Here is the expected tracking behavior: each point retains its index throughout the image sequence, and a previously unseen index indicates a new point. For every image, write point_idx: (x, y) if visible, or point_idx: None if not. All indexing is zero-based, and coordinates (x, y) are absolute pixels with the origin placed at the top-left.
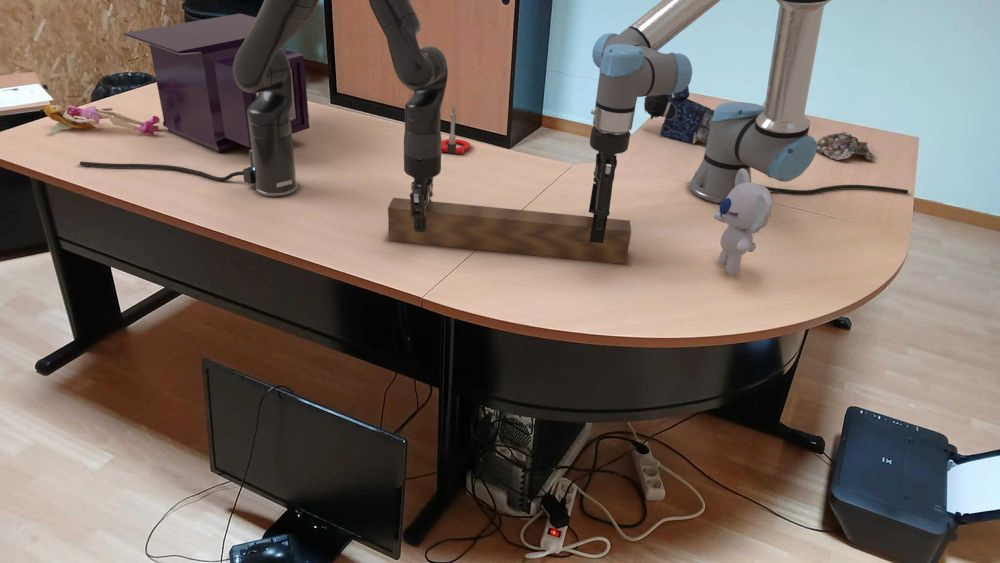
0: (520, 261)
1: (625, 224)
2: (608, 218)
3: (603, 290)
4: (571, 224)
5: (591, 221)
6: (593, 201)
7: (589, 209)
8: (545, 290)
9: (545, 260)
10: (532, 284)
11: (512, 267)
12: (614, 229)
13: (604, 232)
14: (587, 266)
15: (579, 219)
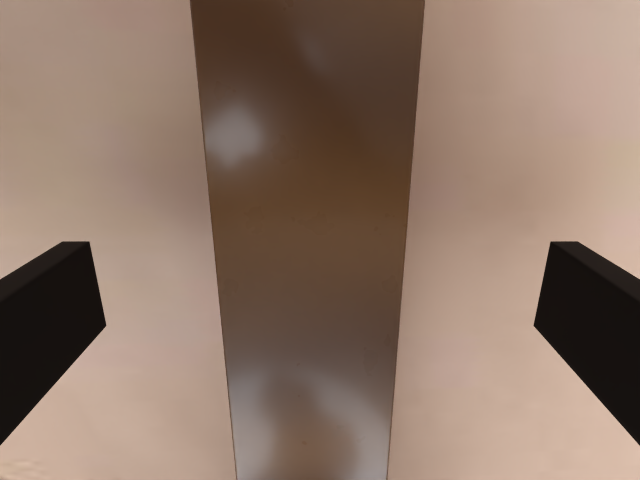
0: (410, 458)
1: (289, 52)
2: (211, 204)
3: (628, 160)
4: (374, 440)
5: (301, 328)
6: (49, 363)
7: (94, 337)
8: None
9: None
10: (569, 416)
11: (455, 476)
12: (409, 161)
13: (637, 281)
14: (418, 229)
15: (291, 400)
